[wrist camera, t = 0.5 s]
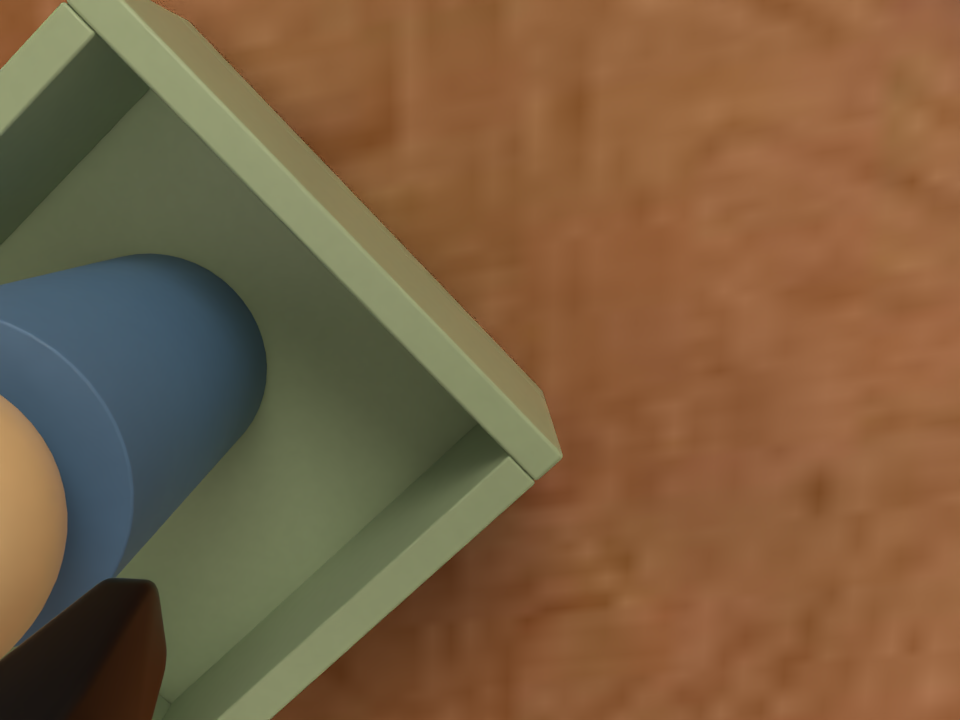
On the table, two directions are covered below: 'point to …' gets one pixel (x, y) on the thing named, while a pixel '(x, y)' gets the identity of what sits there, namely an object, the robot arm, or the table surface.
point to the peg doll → (110, 418)
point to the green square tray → (289, 353)
